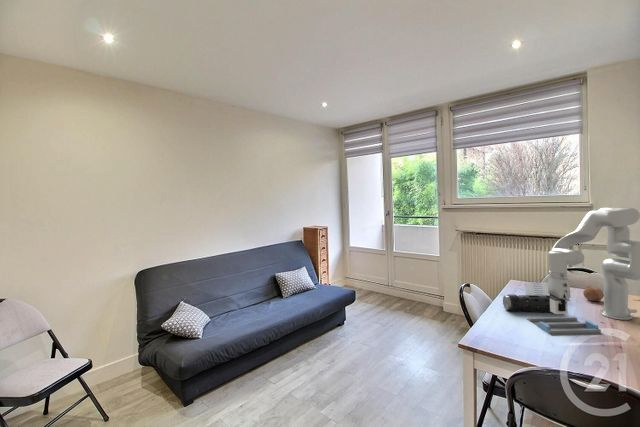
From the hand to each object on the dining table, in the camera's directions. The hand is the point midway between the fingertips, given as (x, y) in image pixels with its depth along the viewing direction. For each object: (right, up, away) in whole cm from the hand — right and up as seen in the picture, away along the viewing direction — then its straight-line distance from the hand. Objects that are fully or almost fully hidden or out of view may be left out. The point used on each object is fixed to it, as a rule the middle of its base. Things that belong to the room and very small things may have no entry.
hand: (558, 308), depth 158 cm
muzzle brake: (-1, -8, +18) cm, 20 cm away
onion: (+46, -5, +31) cm, 56 cm away
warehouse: (+19, -6, +41) cm, 45 cm away
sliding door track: (-1, -9, -3) cm, 9 cm away
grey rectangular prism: (0, -2, 0) cm, 2 cm away
